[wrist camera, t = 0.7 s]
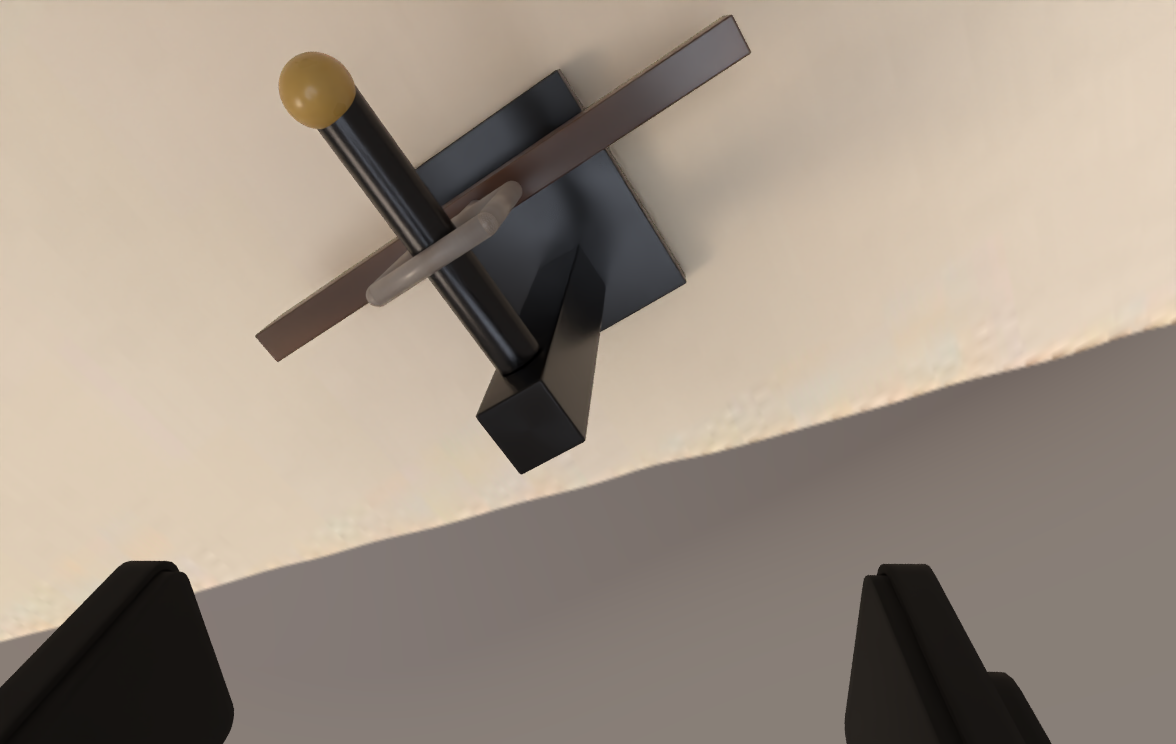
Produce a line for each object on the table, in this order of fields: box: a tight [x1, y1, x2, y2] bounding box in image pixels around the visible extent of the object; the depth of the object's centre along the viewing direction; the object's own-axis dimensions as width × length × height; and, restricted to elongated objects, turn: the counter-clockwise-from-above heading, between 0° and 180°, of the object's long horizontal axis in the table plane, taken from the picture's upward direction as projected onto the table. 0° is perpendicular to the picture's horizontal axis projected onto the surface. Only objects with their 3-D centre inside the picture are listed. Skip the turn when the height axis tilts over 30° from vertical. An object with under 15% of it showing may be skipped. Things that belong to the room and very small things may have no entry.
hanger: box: [255, 15, 751, 362], centre depth 25 cm, size 1×22×10 cm, turn 123°
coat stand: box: [279, 52, 686, 474], centre depth 27 cm, size 15×9×16 cm, turn 33°
